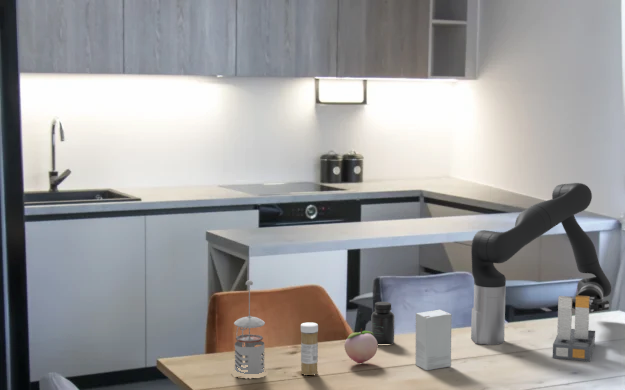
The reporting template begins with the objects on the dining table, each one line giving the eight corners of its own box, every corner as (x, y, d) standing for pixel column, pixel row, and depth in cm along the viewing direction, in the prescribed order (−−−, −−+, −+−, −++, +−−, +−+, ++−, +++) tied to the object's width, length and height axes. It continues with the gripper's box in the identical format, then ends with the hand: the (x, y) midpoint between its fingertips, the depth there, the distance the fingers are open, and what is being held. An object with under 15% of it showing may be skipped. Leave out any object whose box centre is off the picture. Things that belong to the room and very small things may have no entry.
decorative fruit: (362, 371, 246) (362, 334, 245) (339, 365, 252) (339, 329, 251) (384, 363, 253) (384, 328, 252) (361, 358, 259) (361, 323, 258)
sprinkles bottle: (310, 370, 247) (310, 321, 245) (321, 374, 243) (321, 324, 242) (297, 373, 244) (297, 323, 242) (307, 377, 240) (308, 326, 239)
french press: (239, 381, 237) (239, 285, 234) (222, 369, 247) (222, 277, 245) (274, 376, 241) (274, 281, 239) (256, 365, 252) (256, 274, 249)
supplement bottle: (382, 338, 280) (382, 299, 279) (398, 343, 275) (399, 303, 274) (366, 342, 275) (366, 303, 274) (383, 347, 270) (383, 307, 269)
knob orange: (587, 339, 262) (588, 297, 261) (574, 338, 263) (575, 296, 262) (588, 337, 264) (589, 296, 263) (575, 336, 265) (576, 295, 264)
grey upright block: (570, 339, 261) (571, 298, 260) (557, 338, 263) (558, 297, 261) (570, 338, 263) (572, 296, 262) (558, 337, 264) (559, 295, 263)
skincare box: (439, 361, 255) (440, 308, 254) (452, 367, 250) (453, 313, 249) (413, 365, 252) (414, 311, 250) (425, 371, 246) (426, 316, 245)
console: (589, 361, 256) (590, 346, 255) (552, 358, 259) (552, 343, 259) (594, 344, 275) (595, 329, 274) (560, 340, 278) (560, 326, 278)
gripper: (568, 284, 291) (562, 295, 275) (612, 287, 286) (609, 299, 270) (567, 308, 292) (561, 320, 276) (611, 311, 287) (608, 324, 271)
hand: (585, 309), depth 273 cm, fingers closed
